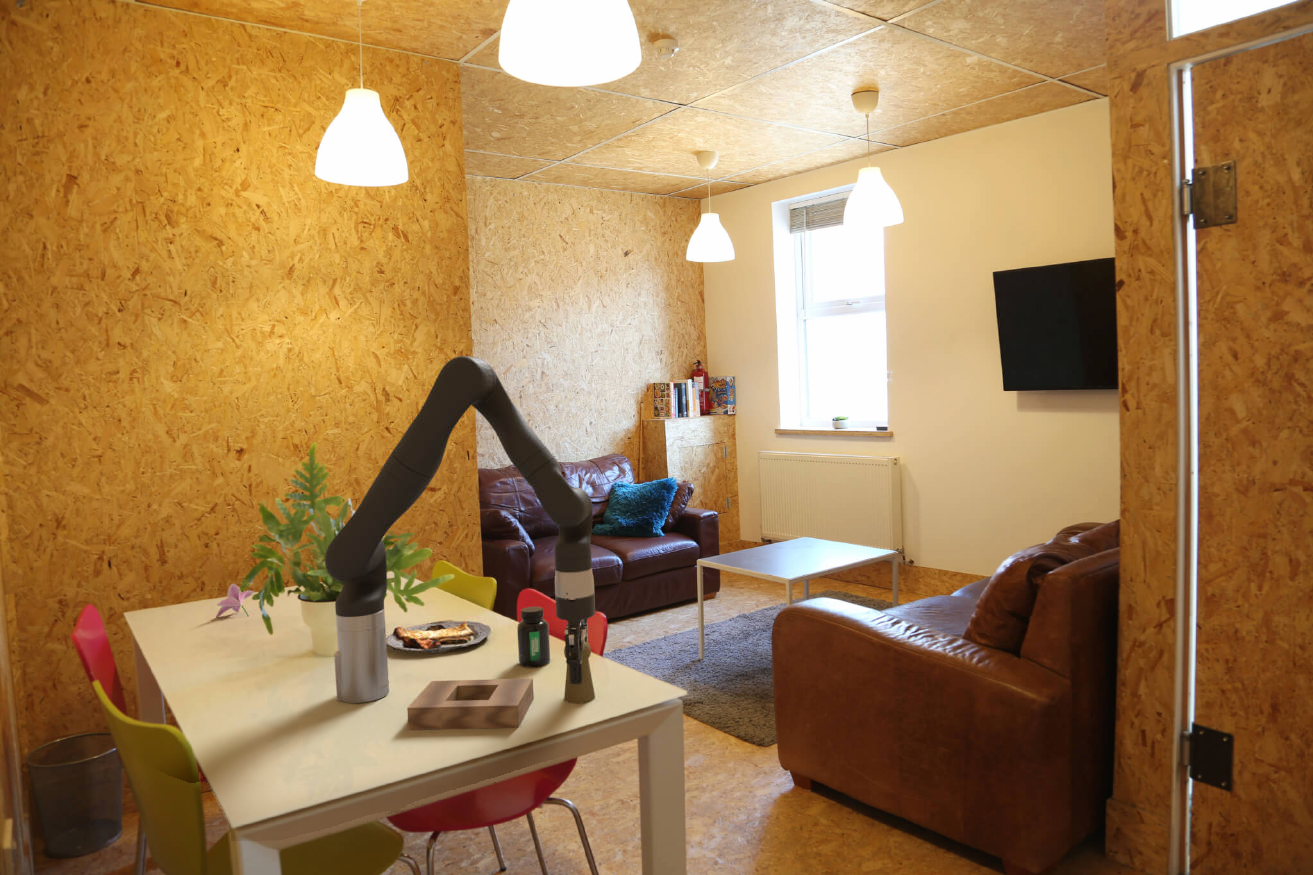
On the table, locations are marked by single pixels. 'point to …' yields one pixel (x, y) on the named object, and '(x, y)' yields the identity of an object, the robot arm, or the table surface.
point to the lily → (234, 599)
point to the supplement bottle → (533, 638)
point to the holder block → (471, 704)
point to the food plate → (437, 636)
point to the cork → (585, 689)
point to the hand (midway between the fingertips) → (578, 677)
